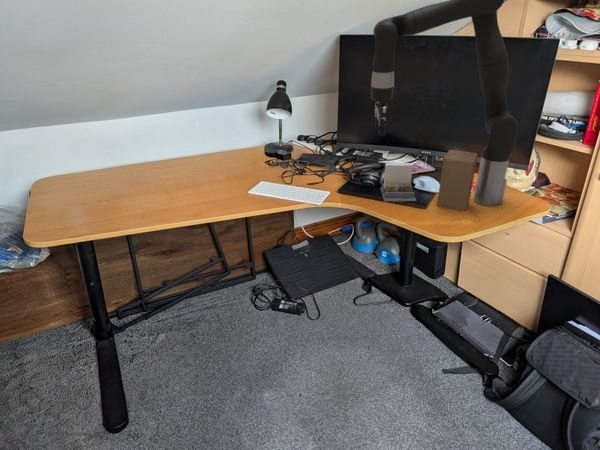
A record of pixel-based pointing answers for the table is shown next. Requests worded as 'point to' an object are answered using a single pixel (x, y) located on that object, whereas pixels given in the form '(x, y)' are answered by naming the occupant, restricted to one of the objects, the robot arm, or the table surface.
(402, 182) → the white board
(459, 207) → the wooden block
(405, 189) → the walnut offcut
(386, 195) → the charcoal rack
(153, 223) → the table surface
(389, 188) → the oak offcut
